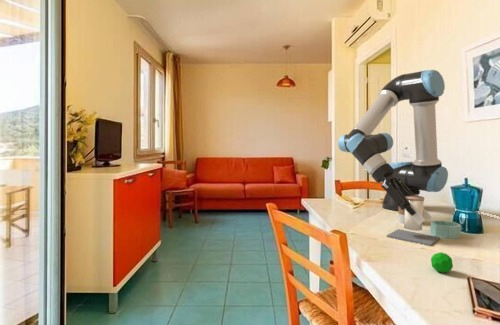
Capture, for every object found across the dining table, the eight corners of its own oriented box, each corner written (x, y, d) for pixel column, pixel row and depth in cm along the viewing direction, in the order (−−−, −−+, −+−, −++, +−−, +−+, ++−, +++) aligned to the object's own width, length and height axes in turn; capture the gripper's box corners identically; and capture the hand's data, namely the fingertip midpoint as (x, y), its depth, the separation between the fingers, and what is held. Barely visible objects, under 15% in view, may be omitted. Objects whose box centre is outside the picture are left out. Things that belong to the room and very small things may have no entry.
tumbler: (406, 225, 118) (408, 194, 117) (425, 228, 114) (426, 197, 113) (400, 228, 113) (402, 196, 113) (419, 231, 109) (421, 199, 108)
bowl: (434, 230, 124) (435, 219, 124) (462, 235, 118) (463, 223, 117) (427, 235, 117) (428, 223, 117) (456, 241, 111) (457, 228, 111)
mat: (398, 230, 123) (398, 229, 123) (440, 238, 113) (440, 237, 113) (386, 236, 115) (386, 235, 115) (430, 246, 105) (430, 244, 105)
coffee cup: (421, 225, 130) (423, 188, 129) (398, 224, 132) (400, 187, 131) (415, 220, 138) (416, 185, 137) (393, 219, 140) (395, 184, 139)
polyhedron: (444, 276, 81) (445, 258, 81) (426, 269, 86) (426, 251, 86) (456, 273, 84) (457, 255, 83) (438, 266, 88) (439, 249, 88)
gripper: (381, 173, 130) (424, 222, 119) (360, 177, 116) (406, 232, 106) (396, 161, 126) (441, 210, 115) (375, 163, 112) (425, 218, 102)
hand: (425, 220), depth 111 cm, fingers closed on tumbler, 6 cm apart
